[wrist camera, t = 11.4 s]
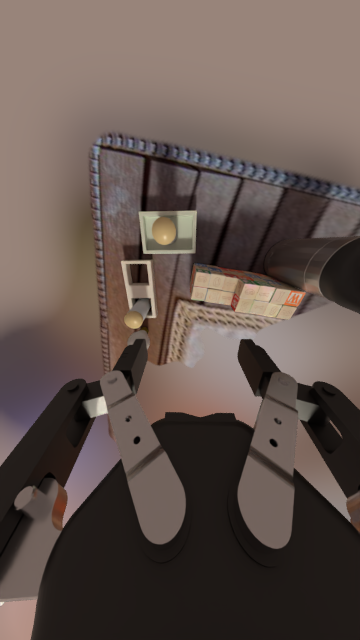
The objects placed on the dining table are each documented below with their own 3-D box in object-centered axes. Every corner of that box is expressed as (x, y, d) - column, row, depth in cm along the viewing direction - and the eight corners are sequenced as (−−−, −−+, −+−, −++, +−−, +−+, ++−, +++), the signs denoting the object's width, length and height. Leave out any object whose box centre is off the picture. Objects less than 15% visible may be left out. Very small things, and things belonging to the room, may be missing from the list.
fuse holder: (152, 259, 38) (150, 260, 35) (157, 313, 44) (155, 318, 42) (125, 259, 38) (121, 261, 35) (134, 313, 45) (131, 318, 42)
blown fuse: (178, 223, 33) (175, 216, 24) (178, 243, 35) (175, 244, 26) (160, 223, 34) (150, 216, 24) (161, 243, 35) (152, 244, 26)
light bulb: (132, 324, 46) (120, 343, 37) (149, 318, 45) (140, 336, 36) (140, 339, 49) (131, 360, 40) (157, 334, 48) (151, 354, 39)
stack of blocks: (189, 285, 41) (190, 305, 30) (193, 261, 37) (197, 274, 27) (263, 298, 42) (290, 320, 31) (274, 276, 39) (307, 293, 28)
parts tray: (195, 213, 33) (196, 210, 31) (194, 252, 37) (195, 253, 34) (142, 214, 33) (138, 211, 31) (146, 253, 37) (143, 253, 34)
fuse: (150, 296, 42) (141, 312, 32) (152, 309, 44) (143, 328, 34) (136, 296, 42) (122, 312, 32) (138, 309, 44) (126, 328, 34)
